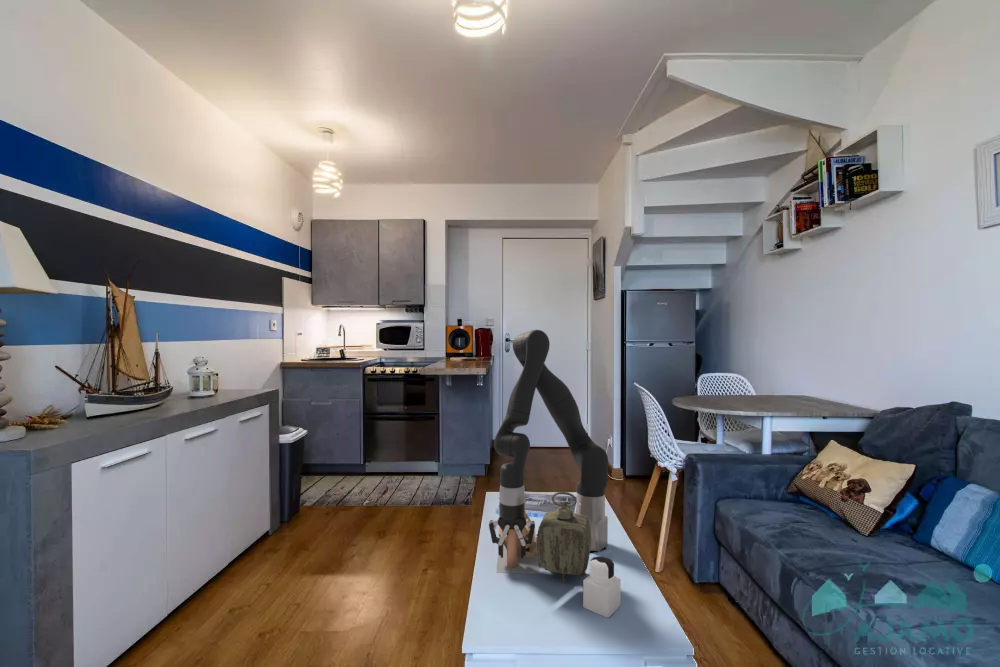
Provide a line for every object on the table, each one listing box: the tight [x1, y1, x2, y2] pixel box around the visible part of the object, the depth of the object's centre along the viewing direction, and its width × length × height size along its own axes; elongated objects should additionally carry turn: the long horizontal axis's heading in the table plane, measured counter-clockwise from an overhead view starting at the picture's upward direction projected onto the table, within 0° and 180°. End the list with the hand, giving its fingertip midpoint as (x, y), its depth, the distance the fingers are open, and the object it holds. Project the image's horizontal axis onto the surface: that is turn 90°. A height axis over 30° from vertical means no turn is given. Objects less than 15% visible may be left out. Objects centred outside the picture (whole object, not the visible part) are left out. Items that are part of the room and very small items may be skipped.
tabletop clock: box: [536, 491, 591, 582], centre depth 131 cm, size 14×9×25 cm, turn 74°
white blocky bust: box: [582, 555, 621, 619], centre depth 119 cm, size 7×7×12 cm
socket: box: [498, 510, 537, 557], centre depth 148 cm, size 12×13×10 cm
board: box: [495, 536, 541, 575], centre depth 144 cm, size 23×12×1 cm, turn 177°
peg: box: [507, 529, 518, 567], centre depth 137 cm, size 3×3×11 cm
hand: (511, 556), depth 137 cm, fingers open, 5 cm apart
